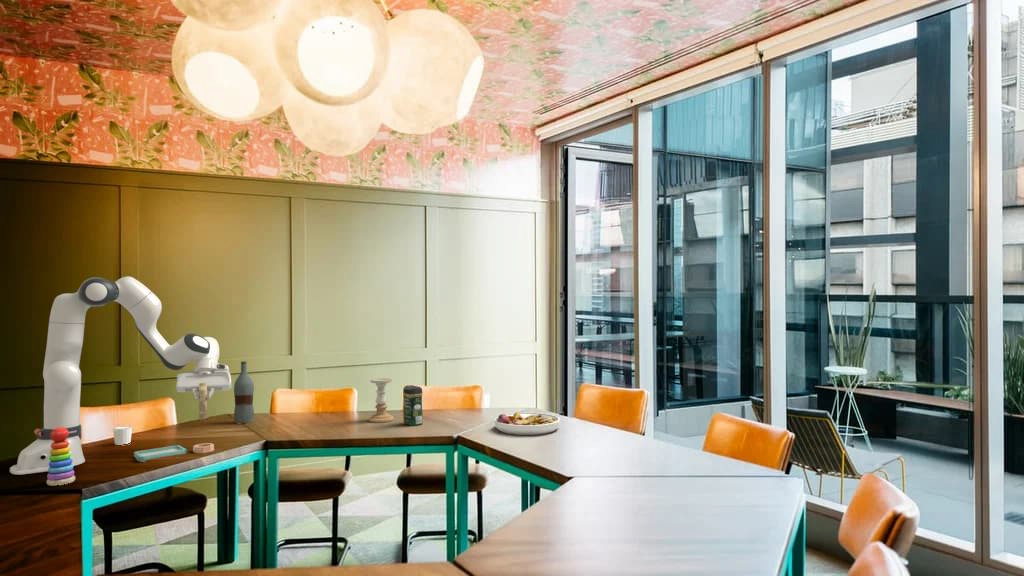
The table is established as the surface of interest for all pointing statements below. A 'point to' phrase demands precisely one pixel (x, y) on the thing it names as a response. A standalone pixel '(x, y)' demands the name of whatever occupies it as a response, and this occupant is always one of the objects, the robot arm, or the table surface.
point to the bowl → (527, 423)
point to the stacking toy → (60, 459)
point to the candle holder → (381, 402)
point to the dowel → (203, 401)
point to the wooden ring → (203, 448)
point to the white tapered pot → (122, 435)
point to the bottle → (243, 397)
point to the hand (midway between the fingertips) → (202, 398)
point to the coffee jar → (412, 405)
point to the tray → (159, 453)
